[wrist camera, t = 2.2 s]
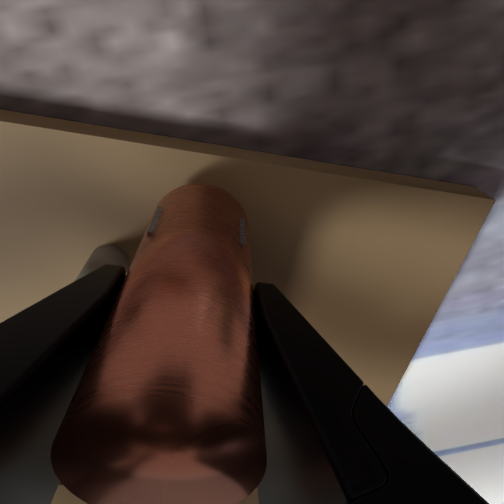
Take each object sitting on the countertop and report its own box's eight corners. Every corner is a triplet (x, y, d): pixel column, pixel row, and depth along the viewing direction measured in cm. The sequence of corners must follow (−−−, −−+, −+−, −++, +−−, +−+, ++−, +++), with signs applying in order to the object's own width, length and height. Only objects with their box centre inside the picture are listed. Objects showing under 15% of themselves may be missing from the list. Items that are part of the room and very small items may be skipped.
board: (312, 516, 24) (324, 587, 21) (7, 503, 21) (-30, 581, 18) (474, 186, 13) (548, 234, 10) (-106, 91, 11) (-238, 115, 8)
